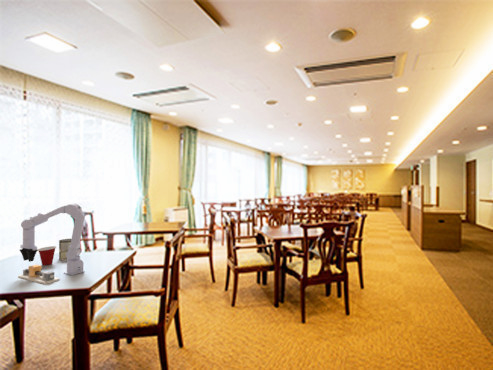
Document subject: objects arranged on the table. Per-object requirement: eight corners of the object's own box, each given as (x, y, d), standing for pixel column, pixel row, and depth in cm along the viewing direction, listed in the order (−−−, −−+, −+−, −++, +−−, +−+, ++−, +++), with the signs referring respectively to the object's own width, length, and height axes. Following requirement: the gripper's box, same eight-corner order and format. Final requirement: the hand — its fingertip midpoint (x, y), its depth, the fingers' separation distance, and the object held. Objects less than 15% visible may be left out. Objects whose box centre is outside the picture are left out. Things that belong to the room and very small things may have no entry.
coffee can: (55, 259, 209) (55, 240, 209) (68, 255, 219) (68, 238, 219) (65, 260, 205) (65, 241, 206) (77, 257, 215) (78, 239, 215)
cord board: (59, 280, 162) (59, 271, 162) (44, 284, 155) (44, 275, 155) (33, 273, 175) (33, 265, 175) (18, 277, 167) (18, 268, 167)
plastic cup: (40, 263, 198) (40, 246, 198) (57, 261, 202) (58, 245, 202) (34, 267, 188) (34, 249, 188) (53, 265, 191) (53, 248, 192)
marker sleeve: (41, 274, 168) (41, 265, 168) (33, 277, 164) (33, 267, 164) (36, 273, 170) (36, 264, 170) (28, 275, 166) (28, 266, 166)
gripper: (14, 238, 169) (14, 260, 169) (27, 240, 163) (27, 263, 163) (27, 236, 176) (27, 258, 176) (40, 238, 169) (40, 260, 169)
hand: (28, 260), depth 170 cm, fingers open, 5 cm apart
